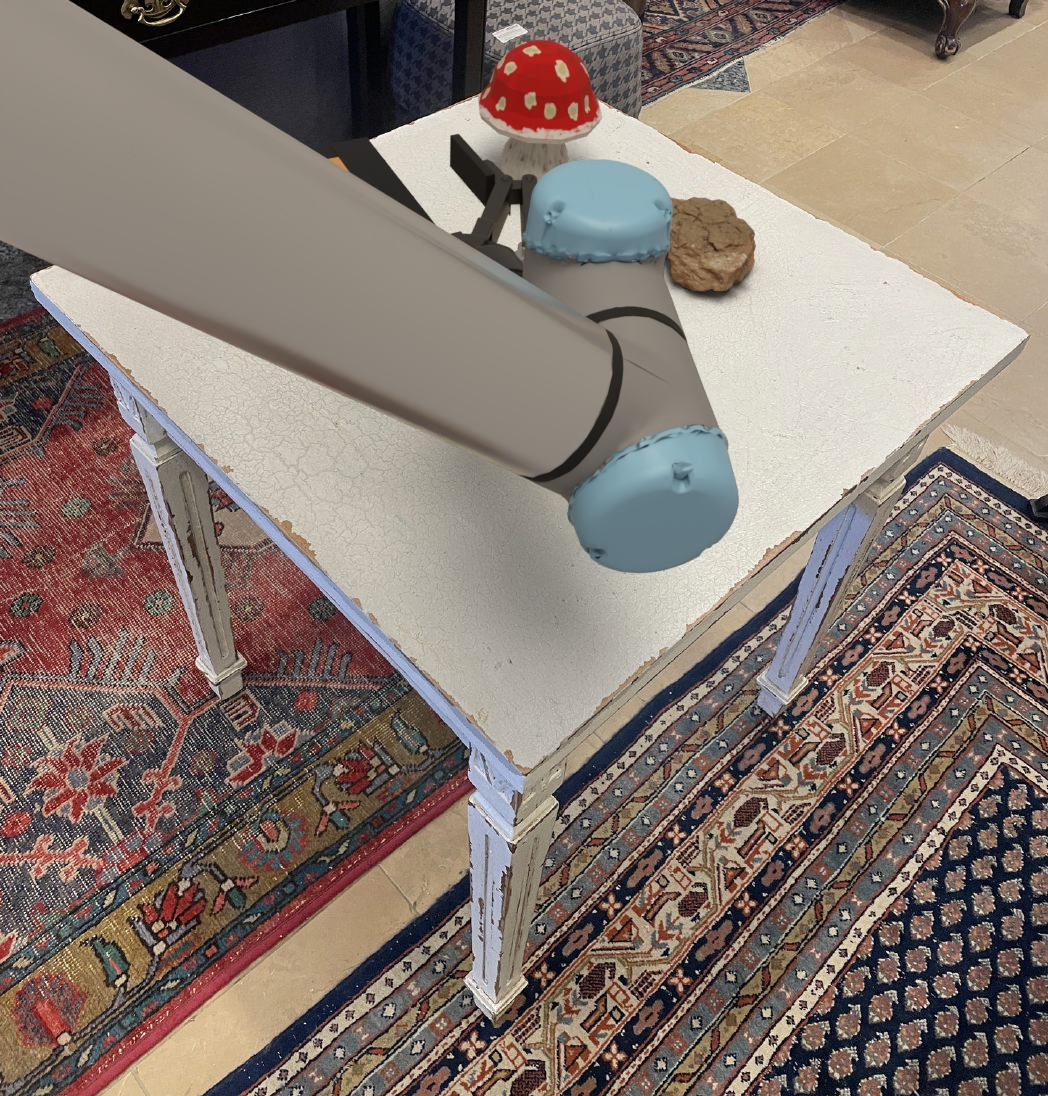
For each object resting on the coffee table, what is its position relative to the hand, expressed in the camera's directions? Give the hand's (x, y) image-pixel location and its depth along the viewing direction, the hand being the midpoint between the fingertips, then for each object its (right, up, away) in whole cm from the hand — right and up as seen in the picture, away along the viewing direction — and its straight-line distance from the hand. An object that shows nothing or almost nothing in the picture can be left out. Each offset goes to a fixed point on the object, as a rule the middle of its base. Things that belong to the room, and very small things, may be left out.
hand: (377, 165), depth 77 cm
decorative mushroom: (+13, +12, +35) cm, 39 cm away
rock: (+31, 0, +27) cm, 41 cm away
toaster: (-6, -4, +20) cm, 21 cm away
